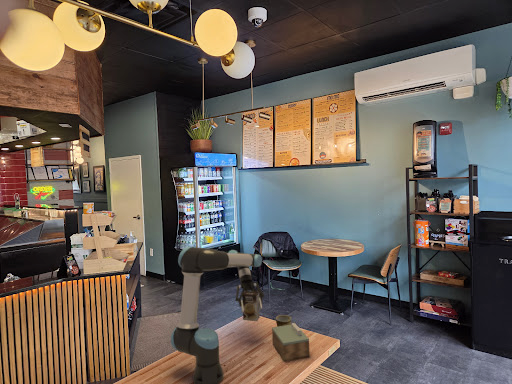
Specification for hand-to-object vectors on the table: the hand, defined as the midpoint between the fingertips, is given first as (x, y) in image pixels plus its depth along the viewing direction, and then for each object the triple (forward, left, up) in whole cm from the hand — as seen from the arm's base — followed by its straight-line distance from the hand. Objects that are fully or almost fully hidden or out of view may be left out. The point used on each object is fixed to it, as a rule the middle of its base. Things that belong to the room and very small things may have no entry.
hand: (252, 309), depth 197 cm
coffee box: (0, +3, -7) cm, 7 cm away
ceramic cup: (+22, +9, -21) cm, 32 cm away
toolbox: (+18, -14, -21) cm, 31 cm away
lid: (+18, -14, -12) cm, 26 cm away
